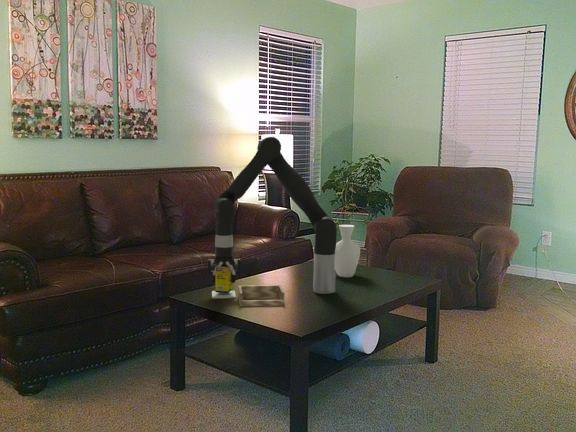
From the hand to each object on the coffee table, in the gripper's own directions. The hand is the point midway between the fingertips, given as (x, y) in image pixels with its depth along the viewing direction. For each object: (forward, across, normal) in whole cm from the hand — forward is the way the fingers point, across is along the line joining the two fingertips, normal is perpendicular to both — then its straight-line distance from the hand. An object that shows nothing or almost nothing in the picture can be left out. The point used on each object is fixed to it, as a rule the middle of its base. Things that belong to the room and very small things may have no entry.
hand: (224, 283), depth 242 cm
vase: (+6, -61, -33) cm, 69 cm away
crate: (+5, -15, +10) cm, 19 cm away
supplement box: (+4, 0, 0) cm, 4 cm away
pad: (+5, 0, 0) cm, 5 cm away
